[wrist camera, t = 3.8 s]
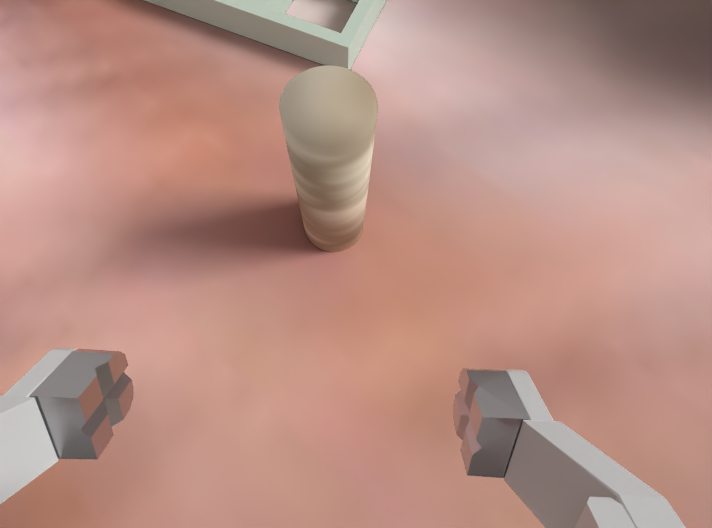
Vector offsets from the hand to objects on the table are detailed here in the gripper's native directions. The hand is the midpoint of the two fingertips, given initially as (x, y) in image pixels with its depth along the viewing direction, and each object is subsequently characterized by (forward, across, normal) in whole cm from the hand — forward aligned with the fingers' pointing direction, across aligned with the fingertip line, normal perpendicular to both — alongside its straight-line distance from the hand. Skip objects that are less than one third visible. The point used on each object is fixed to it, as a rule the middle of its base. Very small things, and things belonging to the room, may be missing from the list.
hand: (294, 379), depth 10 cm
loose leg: (+19, 0, +3) cm, 19 cm away
